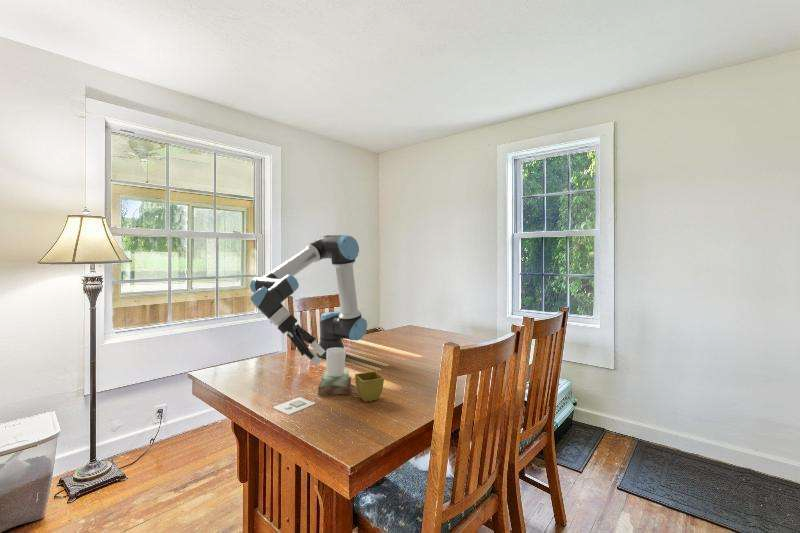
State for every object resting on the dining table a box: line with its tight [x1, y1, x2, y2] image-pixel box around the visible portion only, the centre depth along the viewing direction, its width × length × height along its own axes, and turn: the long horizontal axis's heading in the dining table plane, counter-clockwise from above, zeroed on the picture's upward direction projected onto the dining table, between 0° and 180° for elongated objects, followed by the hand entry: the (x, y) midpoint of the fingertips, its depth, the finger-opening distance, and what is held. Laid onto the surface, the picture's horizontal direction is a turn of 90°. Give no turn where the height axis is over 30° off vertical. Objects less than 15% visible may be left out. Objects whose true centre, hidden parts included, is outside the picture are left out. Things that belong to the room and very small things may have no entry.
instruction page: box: [271, 396, 316, 416], centre depth 131 cm, size 12×9×1 cm
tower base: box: [317, 369, 352, 396], centre depth 148 cm, size 12×12×6 cm
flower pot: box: [354, 370, 385, 403], centre depth 139 cm, size 9×9×9 cm
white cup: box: [325, 347, 347, 377], centre depth 148 cm, size 8×8×10 cm
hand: (321, 358), depth 147 cm, fingers open, 13 cm apart
